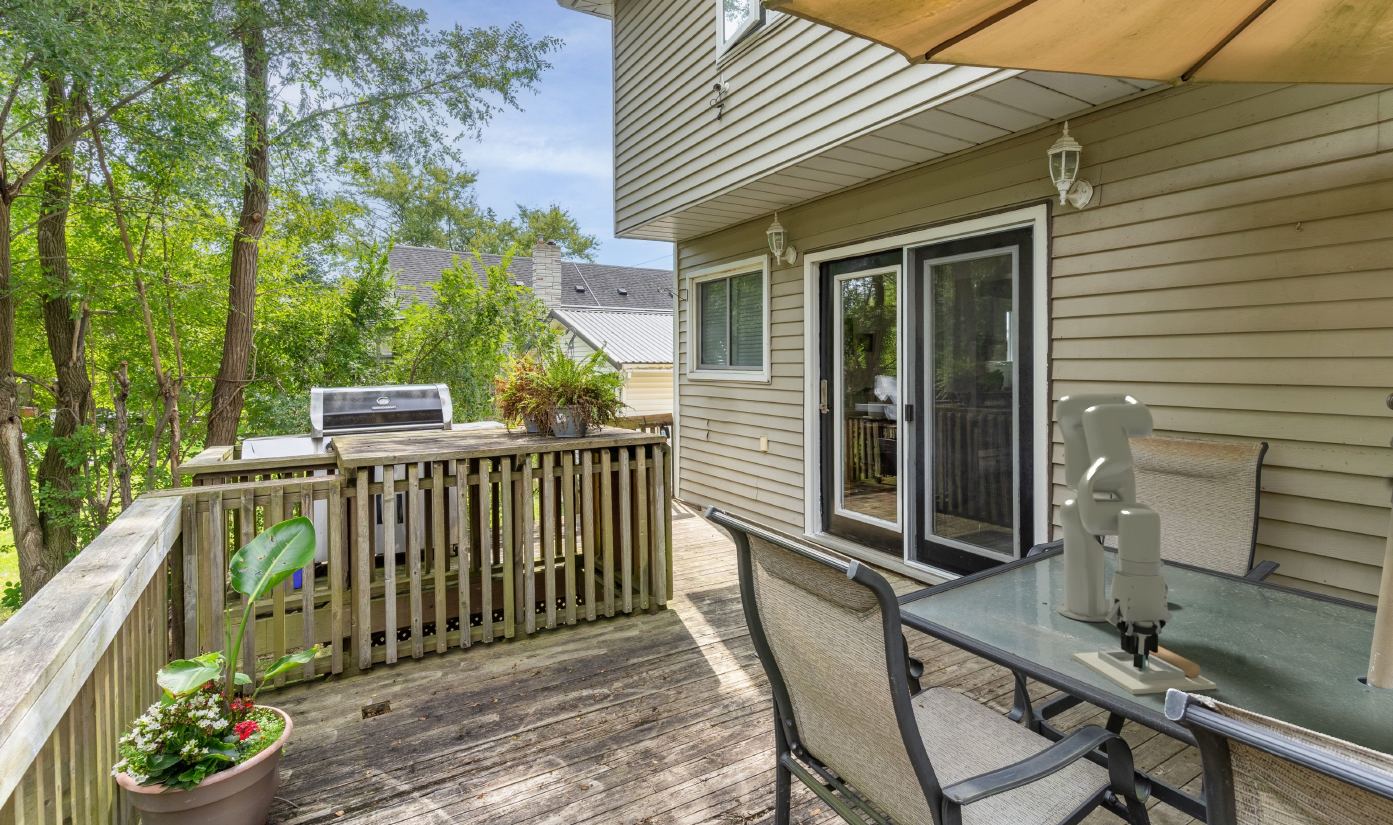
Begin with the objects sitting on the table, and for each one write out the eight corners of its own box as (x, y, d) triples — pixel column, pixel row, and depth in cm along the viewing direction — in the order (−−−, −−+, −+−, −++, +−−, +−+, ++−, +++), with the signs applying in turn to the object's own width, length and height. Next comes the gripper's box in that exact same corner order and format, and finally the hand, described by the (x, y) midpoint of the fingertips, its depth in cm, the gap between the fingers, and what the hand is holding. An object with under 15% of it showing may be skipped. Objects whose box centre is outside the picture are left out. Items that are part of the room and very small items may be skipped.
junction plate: (1146, 653, 148) (1146, 636, 147) (1216, 688, 130) (1215, 669, 130) (1072, 657, 146) (1072, 640, 146) (1132, 694, 128) (1132, 674, 128)
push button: (1124, 654, 142) (1126, 610, 142) (1154, 660, 139) (1156, 615, 139) (1125, 666, 137) (1127, 620, 136) (1155, 672, 134) (1158, 625, 133)
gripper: (1161, 560, 142) (1161, 642, 142) (1089, 564, 140) (1090, 646, 141) (1190, 569, 134) (1190, 655, 135) (1114, 573, 133) (1115, 660, 133)
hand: (1139, 650), depth 138 cm, fingers closed on push button, 4 cm apart
